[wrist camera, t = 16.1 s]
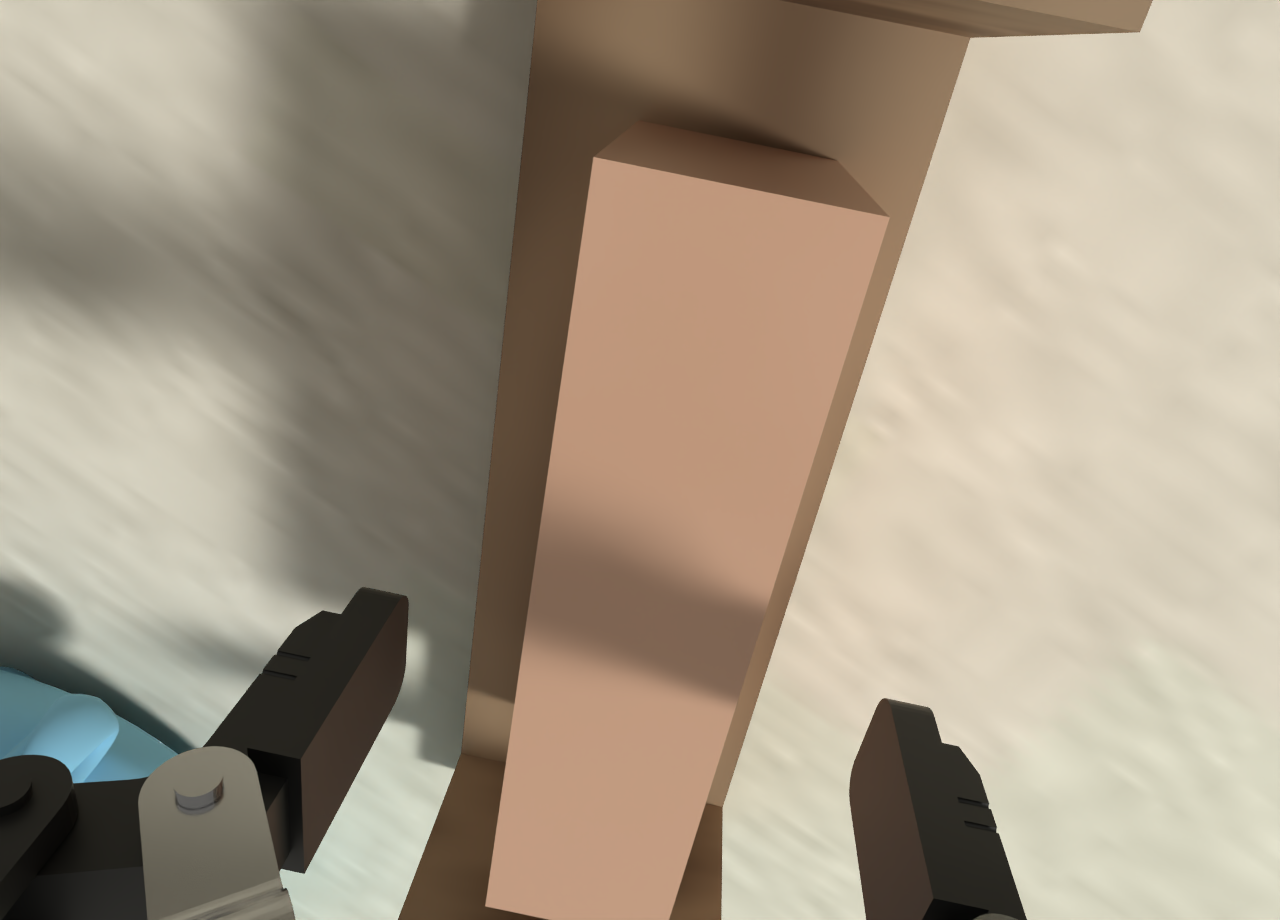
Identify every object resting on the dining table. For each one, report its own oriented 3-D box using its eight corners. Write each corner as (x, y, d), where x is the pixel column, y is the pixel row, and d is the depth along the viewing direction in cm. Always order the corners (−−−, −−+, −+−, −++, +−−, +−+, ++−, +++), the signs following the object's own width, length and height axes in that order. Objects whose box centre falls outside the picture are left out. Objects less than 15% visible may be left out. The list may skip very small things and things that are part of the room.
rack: (999, -118, 15) (1266, -281, 8) (705, 822, 27) (696, 1123, 20) (574, -201, 15) (421, -444, 8) (468, 774, 27) (368, 1054, 20)
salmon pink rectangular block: (837, 160, 16) (889, 217, 11) (677, 739, 24) (661, 943, 18) (638, 120, 16) (593, 157, 11) (540, 711, 24) (485, 906, 18)
